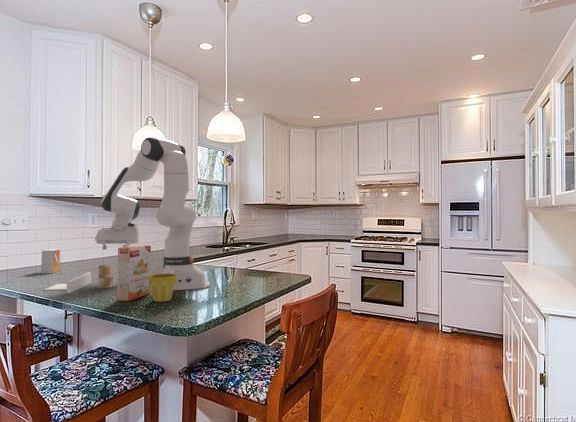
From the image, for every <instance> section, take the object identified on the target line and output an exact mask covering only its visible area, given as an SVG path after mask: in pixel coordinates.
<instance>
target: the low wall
mask: <svg viewBox="0 0 576 422" xmlns="http://www.w3.org/2000/svg"><path fill="white" fill-rule="evenodd" d="M91 283H92V272H86V273H84V274H81V275H80V276H77V277H74V278H72V279H70V280H67V281H66V284H67V290H66V294H67V293H69V294H72V293H73V291H74V292H75V290H76V291H77V290H79V289H82V288H83V287H85V286H87V285H89V284H91ZM71 292H72V293H71Z"/></svg>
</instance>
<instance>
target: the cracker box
mask: <svg viewBox="0 0 576 422" xmlns="http://www.w3.org/2000/svg"><path fill="white" fill-rule="evenodd" d="M151 251H152V247H151V245H147V244H141V245H140V244H139V245H129V246H128V247H123V246H122V247H118V248H117V270H116V271H117V275H116V301H119V302H130V301H133V300H135V299H138V298H139V299H140V298H141V297H145V296H147V295H149V294H150V293H151V286H150V285H149V276H150V275H151V256H152V255H151V253H152V252H151Z"/></svg>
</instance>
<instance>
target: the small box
mask: <svg viewBox="0 0 576 422" xmlns="http://www.w3.org/2000/svg"><path fill="white" fill-rule="evenodd" d="M60 253H61V249H60V248H55V249H54V248H49V249H43V250H41V272H40V273H41V274H54V273H57V272H58V273H59V272H60V261H61V260H60V258H61V257H60Z"/></svg>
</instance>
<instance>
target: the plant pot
mask: <svg viewBox="0 0 576 422" xmlns="http://www.w3.org/2000/svg"><path fill="white" fill-rule="evenodd" d="M175 283H176V274H163V273H155V274H150V276H149V285H150V291H151V294H152V299H153V301H154V302H155V303H156V302H159V303H161V302H168V301H171V300H172V297H173V294H174V293H173V292H174V290H173V289H174V284H175Z"/></svg>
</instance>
